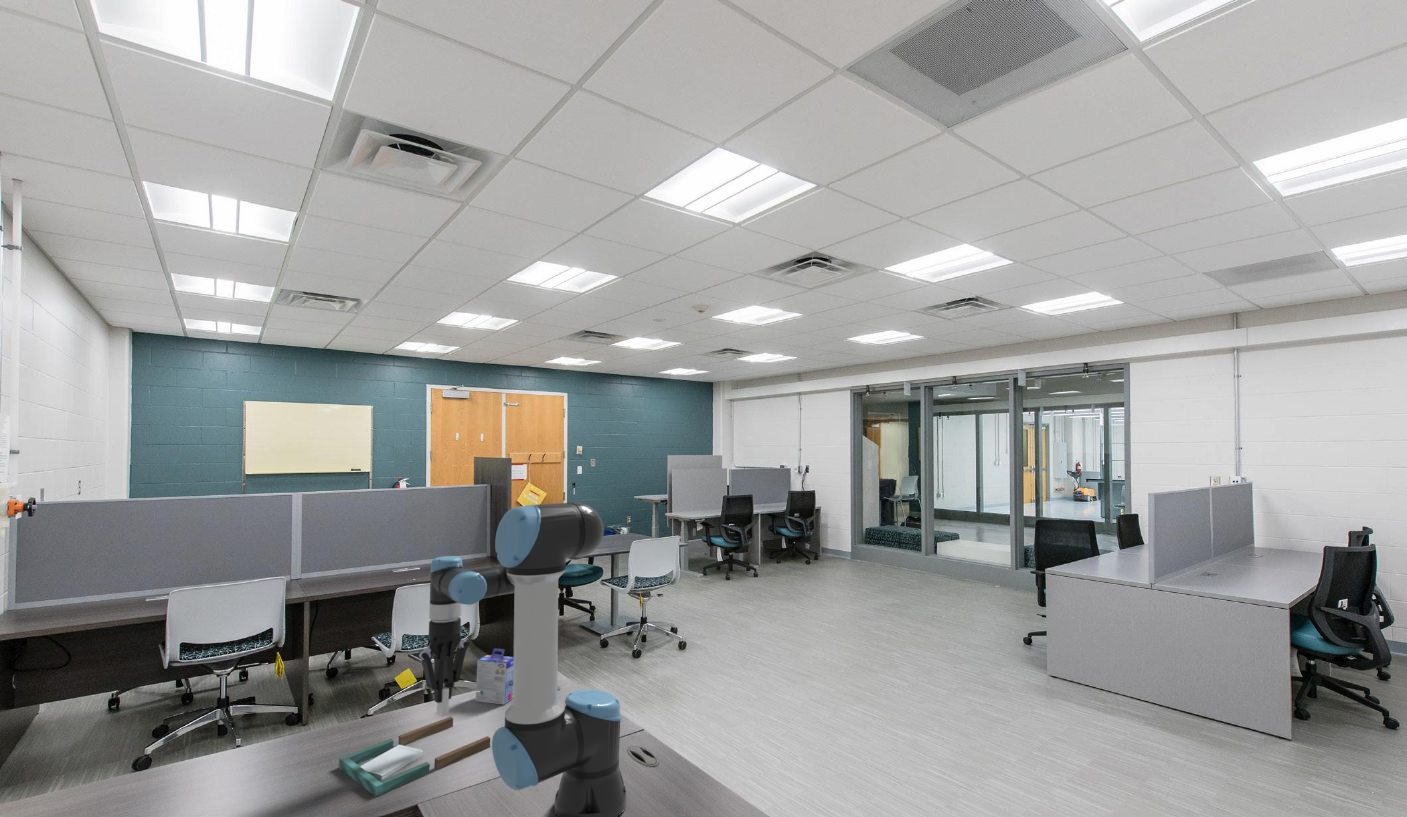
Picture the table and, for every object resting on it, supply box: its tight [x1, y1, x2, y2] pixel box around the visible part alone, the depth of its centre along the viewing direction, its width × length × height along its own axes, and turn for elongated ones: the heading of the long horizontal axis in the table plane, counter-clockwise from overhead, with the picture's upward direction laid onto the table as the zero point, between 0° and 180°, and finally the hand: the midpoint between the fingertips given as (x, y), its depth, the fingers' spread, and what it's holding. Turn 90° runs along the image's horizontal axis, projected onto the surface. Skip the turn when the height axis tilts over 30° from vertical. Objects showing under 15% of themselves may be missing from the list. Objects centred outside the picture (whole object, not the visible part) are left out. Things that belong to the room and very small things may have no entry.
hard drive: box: [359, 744, 424, 781], centre depth 146 cm, size 2×8×12 cm
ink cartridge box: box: [475, 648, 514, 705], centre depth 182 cm, size 10×6×14 cm, turn 78°
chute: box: [338, 716, 491, 798], centre depth 149 cm, size 19×28×2 cm
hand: (442, 713), depth 154 cm, fingers closed
